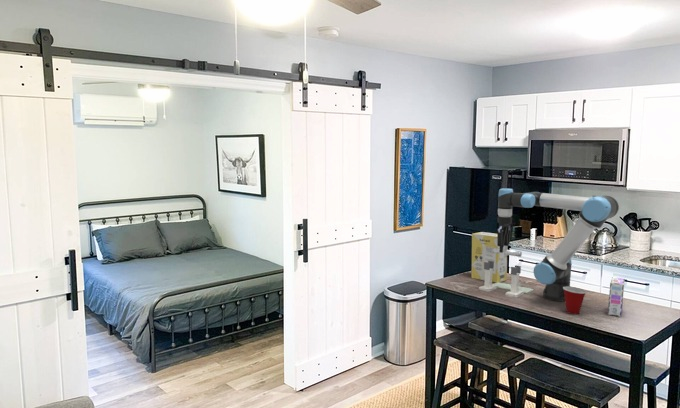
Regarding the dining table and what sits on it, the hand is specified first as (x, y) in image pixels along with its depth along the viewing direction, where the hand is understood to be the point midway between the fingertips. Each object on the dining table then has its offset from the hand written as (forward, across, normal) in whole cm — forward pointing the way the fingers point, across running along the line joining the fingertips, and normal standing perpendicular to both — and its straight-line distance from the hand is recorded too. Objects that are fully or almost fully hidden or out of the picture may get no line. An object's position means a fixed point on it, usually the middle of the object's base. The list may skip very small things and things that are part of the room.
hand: (503, 257), depth 281 cm
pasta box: (+20, -21, -18) cm, 34 cm away
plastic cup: (+20, +8, +42) cm, 47 cm away
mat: (+20, -12, +1) cm, 23 cm away
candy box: (+21, -7, +57) cm, 61 cm away
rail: (-2, 0, 0) cm, 2 cm away
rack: (+20, 0, 0) cm, 20 cm away
